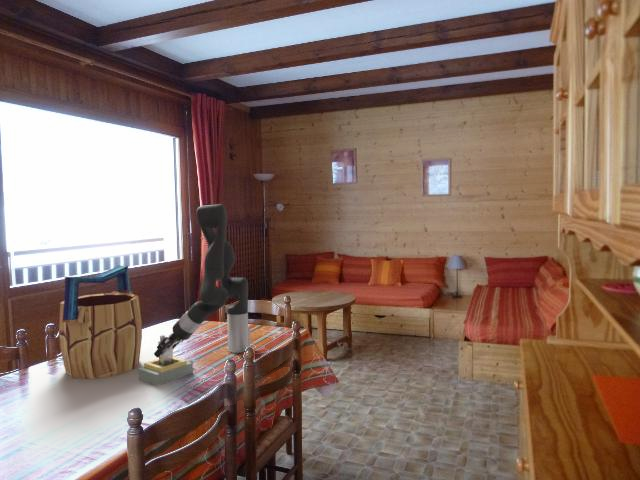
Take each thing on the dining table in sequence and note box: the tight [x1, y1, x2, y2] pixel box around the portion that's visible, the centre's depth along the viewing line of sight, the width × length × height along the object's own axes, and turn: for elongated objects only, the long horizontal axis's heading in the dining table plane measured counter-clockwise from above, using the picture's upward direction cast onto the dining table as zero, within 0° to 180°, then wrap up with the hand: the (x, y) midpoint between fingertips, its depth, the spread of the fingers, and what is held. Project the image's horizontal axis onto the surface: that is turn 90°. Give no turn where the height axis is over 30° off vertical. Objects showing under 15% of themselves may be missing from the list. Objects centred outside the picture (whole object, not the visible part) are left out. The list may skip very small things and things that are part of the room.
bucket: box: [58, 265, 143, 380], centre depth 191 cm, size 39×31×40 cm
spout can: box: [157, 334, 174, 367], centre depth 181 cm, size 5×5×13 cm
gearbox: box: [137, 356, 194, 386], centre depth 183 cm, size 20×12×6 cm, turn 143°
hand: (162, 352), depth 181 cm, fingers open, 8 cm apart
